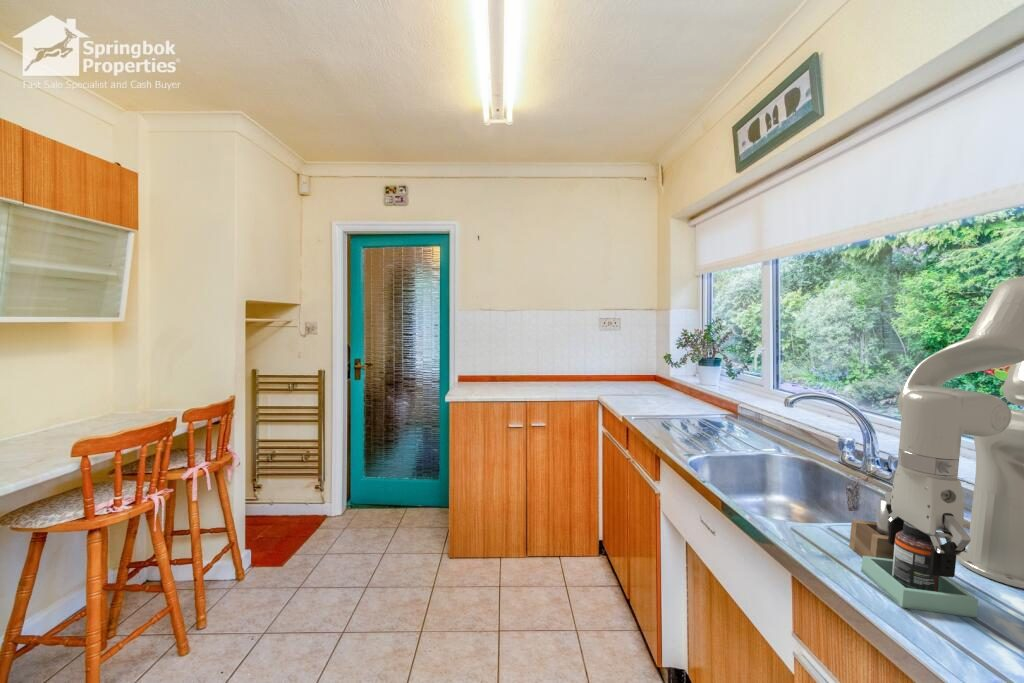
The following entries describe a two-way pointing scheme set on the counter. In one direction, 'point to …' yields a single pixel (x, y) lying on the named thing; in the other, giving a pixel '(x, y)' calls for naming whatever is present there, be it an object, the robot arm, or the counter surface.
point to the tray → (920, 591)
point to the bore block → (869, 540)
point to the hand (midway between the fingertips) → (918, 559)
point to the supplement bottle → (913, 559)
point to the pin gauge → (883, 518)
